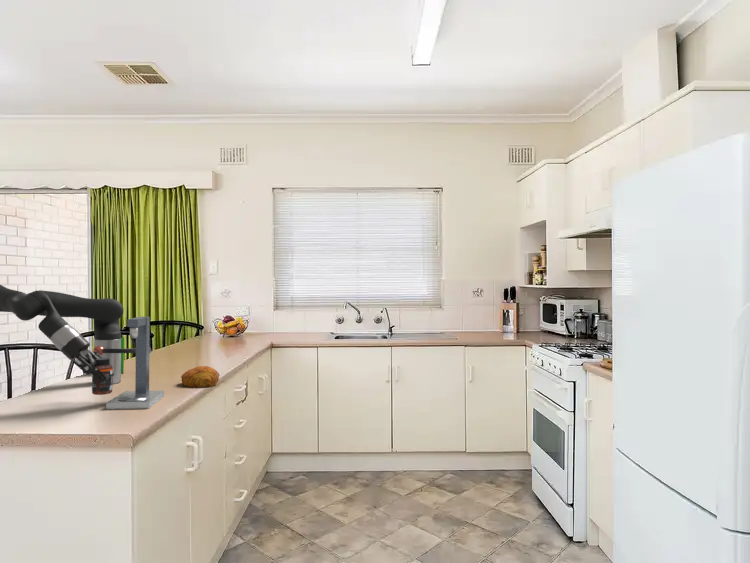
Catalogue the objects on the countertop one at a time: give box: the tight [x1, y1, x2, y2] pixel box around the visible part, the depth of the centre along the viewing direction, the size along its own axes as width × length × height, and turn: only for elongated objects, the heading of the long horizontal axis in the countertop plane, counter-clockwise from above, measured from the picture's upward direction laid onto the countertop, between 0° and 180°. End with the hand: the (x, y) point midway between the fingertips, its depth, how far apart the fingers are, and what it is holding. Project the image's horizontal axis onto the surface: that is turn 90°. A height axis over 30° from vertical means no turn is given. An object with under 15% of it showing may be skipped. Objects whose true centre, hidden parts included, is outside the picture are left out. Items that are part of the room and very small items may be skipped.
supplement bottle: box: [91, 358, 114, 396], centre depth 175 cm, size 6×6×11 cm
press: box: [105, 316, 165, 410], centre depth 179 cm, size 13×18×28 cm
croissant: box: [180, 365, 220, 388], centre depth 212 cm, size 14×16×8 cm
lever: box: [92, 346, 152, 356], centre depth 188 cm, size 19×4×4 cm, turn 97°
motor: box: [121, 336, 125, 375], centre depth 234 cm, size 10×9×20 cm
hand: (108, 378), depth 175 cm, fingers closed on supplement bottle, 6 cm apart
